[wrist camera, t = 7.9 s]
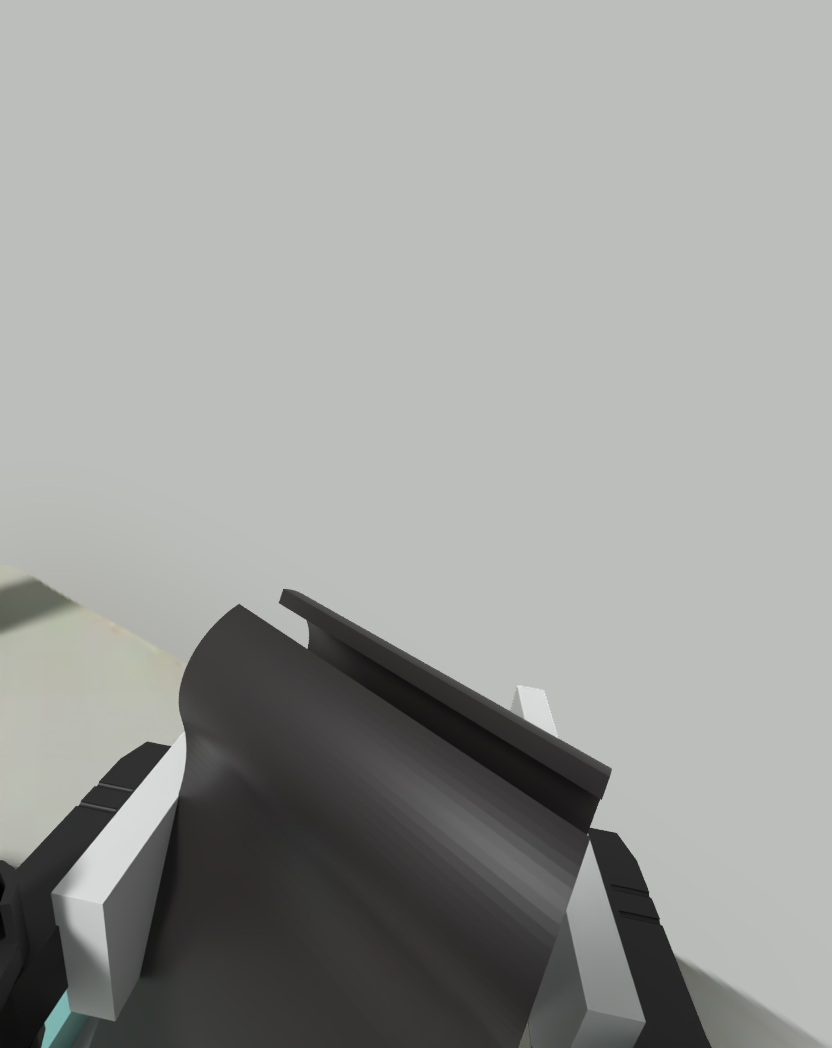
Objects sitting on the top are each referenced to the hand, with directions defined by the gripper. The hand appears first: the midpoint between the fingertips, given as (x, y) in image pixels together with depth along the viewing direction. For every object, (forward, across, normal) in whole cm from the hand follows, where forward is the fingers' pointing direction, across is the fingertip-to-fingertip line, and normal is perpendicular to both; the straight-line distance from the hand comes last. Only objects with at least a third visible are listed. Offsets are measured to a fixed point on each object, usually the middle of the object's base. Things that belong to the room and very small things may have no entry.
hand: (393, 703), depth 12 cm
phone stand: (-5, 0, -8) cm, 9 cm away
